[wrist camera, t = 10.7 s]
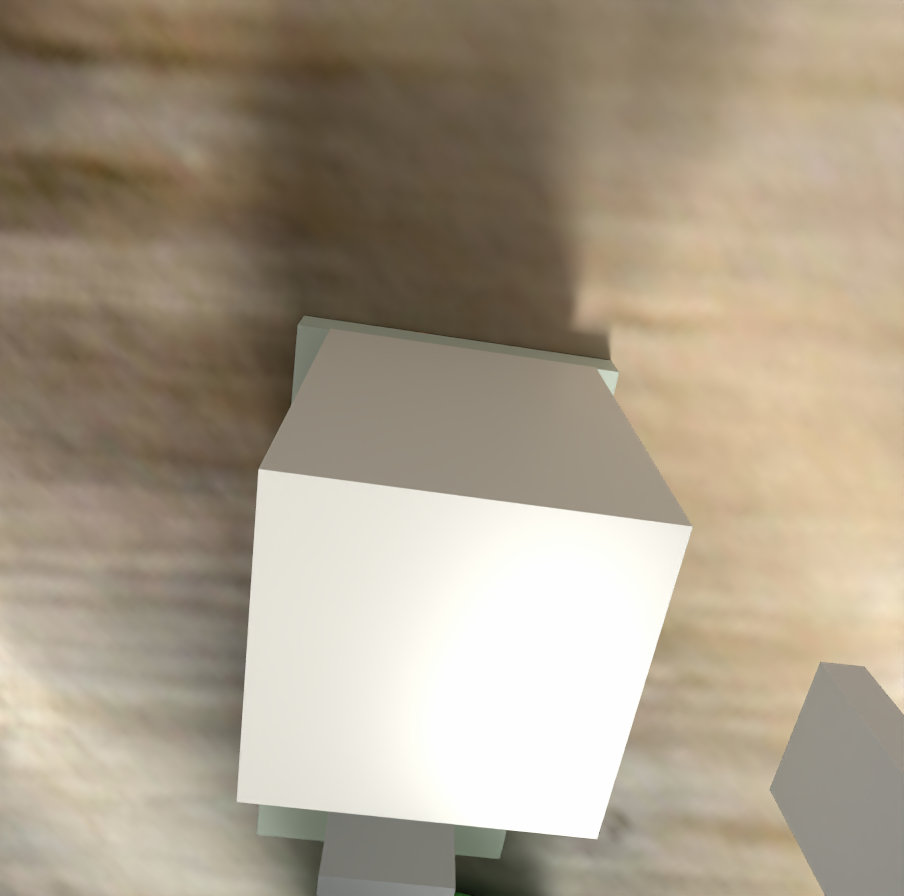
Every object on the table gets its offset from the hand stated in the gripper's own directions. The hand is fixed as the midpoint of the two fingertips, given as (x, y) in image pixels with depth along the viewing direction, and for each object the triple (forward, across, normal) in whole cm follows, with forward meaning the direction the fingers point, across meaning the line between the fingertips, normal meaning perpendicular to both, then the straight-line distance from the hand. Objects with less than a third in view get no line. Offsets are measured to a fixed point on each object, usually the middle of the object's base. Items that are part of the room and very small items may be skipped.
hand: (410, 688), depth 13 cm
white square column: (+8, +1, 0) cm, 8 cm away
